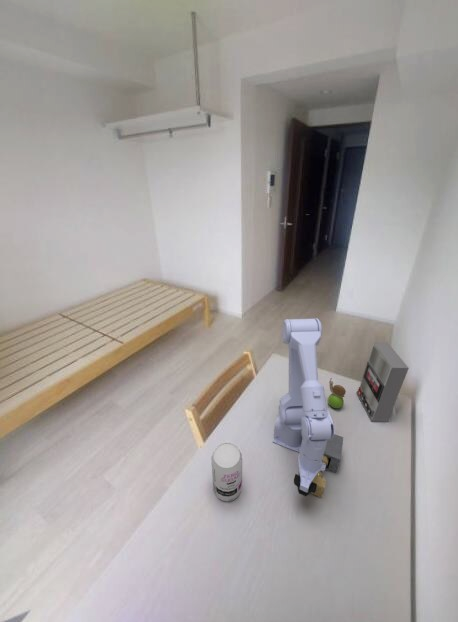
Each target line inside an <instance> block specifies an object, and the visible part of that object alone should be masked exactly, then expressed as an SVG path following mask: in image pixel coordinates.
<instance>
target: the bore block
mask: <svg viewBox="0 0 458 622" xmlns="http://www.w3.org/2000/svg"><path fill="white" fill-rule="evenodd" d="M343 443H344V436H341V435H339V434H335V433H334V437H333V439H331V438H330V439H327V443H326V447H325V451H324V455H323V456H326V457H329V459H328V465H327V466H326V467H325V471H328V472H331V473H333V474H335V475H337V474H338V471H339V468H340V464H341V461H342V453H343Z"/></svg>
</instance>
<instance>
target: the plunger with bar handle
mask: <svg viewBox="0 0 458 622" xmlns="http://www.w3.org/2000/svg"><path fill="white" fill-rule="evenodd" d="M328 459H329V457H326V456H323V459H322V462H323V463H325V464H326V466H327V465H328ZM298 472H299V471H298ZM322 474H323V471H319V473H318V474H317V475H316V477H315V478H314V480H313V481H312V482H313V483H316V484H317V487H316V491H315V492H314V493H311V495H314V496H317V497H319V498H323V495H324V492H325V488H326V482H327V479H325V478H323V477H322V476H323V475H322ZM298 475H300V472H299V473H298Z"/></svg>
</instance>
